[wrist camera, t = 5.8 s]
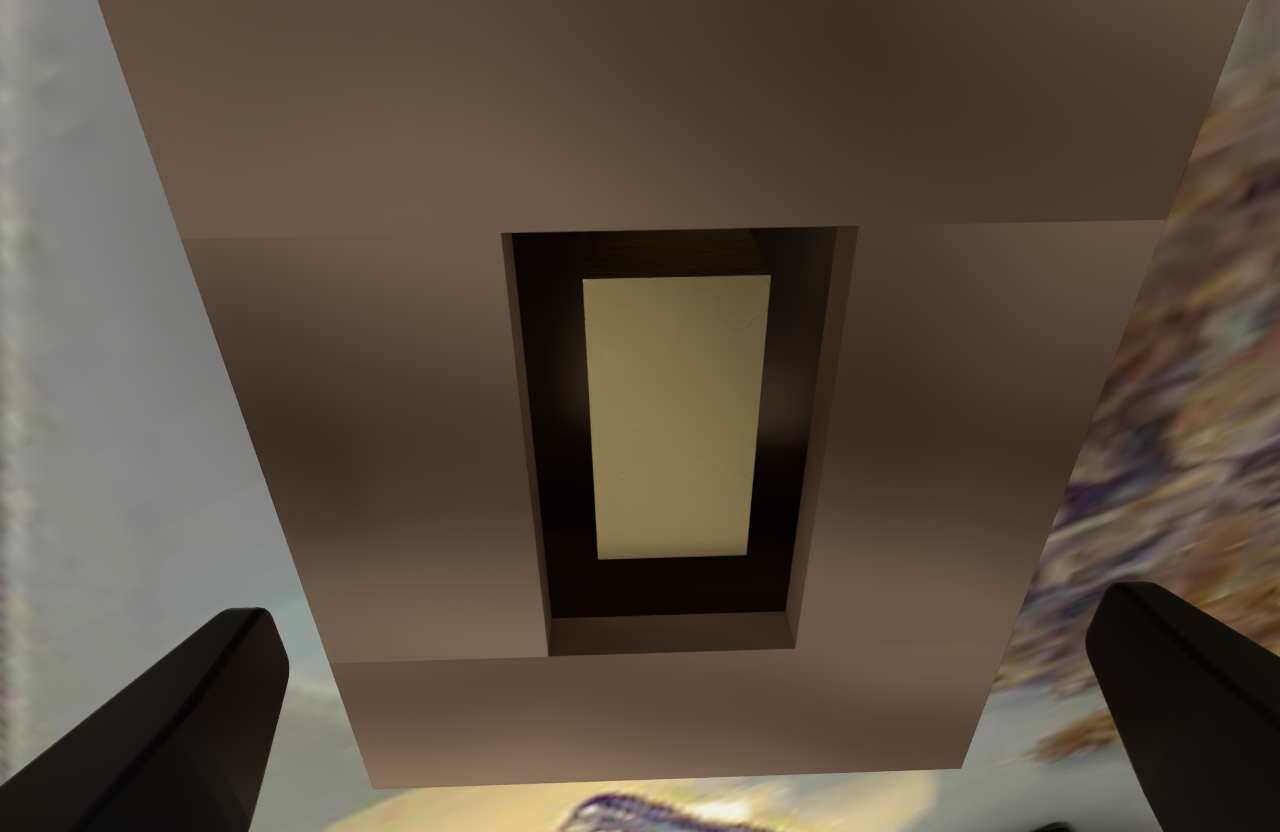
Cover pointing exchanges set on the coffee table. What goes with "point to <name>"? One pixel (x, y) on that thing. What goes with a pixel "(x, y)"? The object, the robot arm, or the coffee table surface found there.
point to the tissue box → (557, 355)
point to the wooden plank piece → (674, 387)
